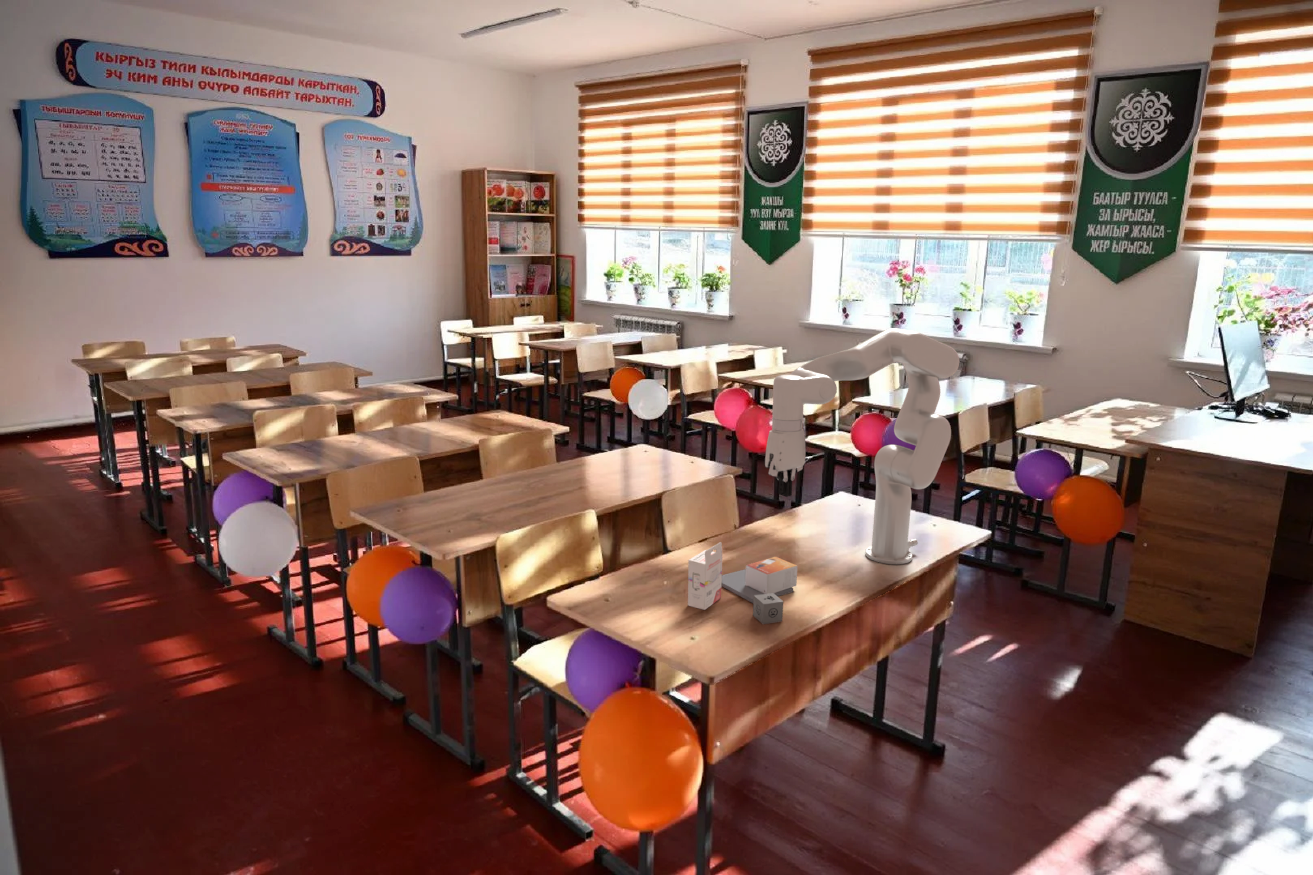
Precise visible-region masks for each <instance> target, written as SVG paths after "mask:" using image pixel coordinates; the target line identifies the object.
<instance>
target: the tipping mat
mask: <svg viewBox="0 0 1313 875" xmlns="http://www.w3.org/2000/svg"><path fill="white" fill-rule="evenodd" d="M745 577H746V568H744V569H741V570H737V571H734V572H733V571H732V572H730V573H726V574H722V583H721V588H722V587H723V589H724V588H725V589H726V590H727V591H730V592H731V593H733V594H735V595H737V596H739V597H741V598H743V599H744V600H746V601H748V602H750V603H751V604H754V596H755V595H762V594H763V593H761V592H759V591H757V590H755V589H753V588H751V587H748V586H746V585H745ZM791 593H794V587H791V588H788V589H785V590H782V591H779V592H776V593H774V594H775V595H776V596H777V597H781V596H783V595H784V596H785V595H788V594H791Z"/></svg>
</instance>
